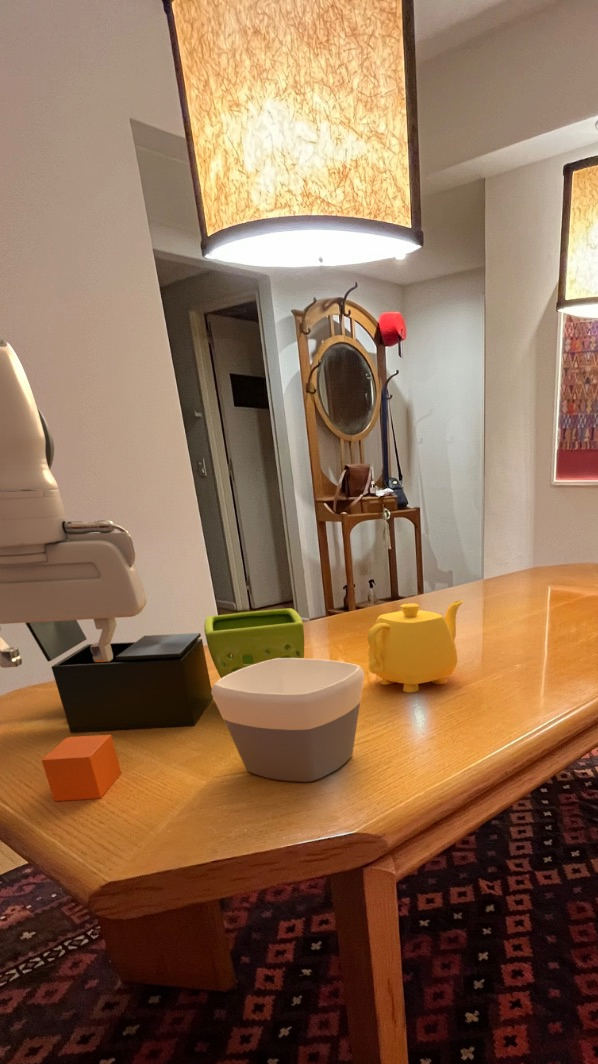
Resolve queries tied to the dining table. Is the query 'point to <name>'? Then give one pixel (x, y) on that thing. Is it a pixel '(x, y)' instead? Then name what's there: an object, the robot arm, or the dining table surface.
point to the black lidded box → (136, 685)
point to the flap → (56, 636)
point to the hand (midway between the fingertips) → (58, 663)
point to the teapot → (413, 646)
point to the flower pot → (253, 638)
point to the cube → (82, 767)
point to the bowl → (292, 715)
